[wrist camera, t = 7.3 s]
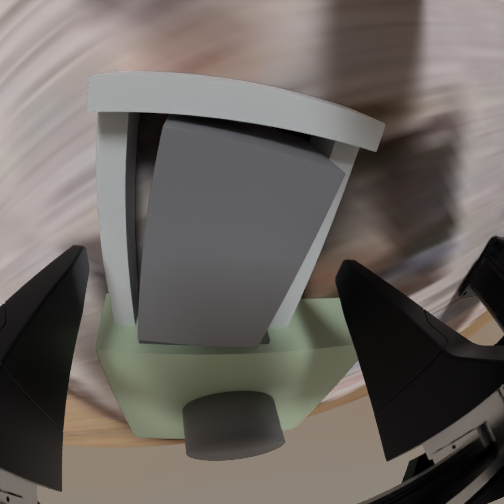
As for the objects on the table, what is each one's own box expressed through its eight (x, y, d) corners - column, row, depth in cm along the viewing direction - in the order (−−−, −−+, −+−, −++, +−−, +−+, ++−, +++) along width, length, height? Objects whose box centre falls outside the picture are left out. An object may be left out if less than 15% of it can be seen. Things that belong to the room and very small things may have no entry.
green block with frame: (422, 136, 11) (526, 205, 6) (284, 397, 25) (302, 456, 20) (98, 71, 7) (-17, 101, 2) (135, 401, 21) (137, 468, 16)
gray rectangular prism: (299, 135, 11) (345, 173, 8) (242, 284, 15) (256, 348, 12) (174, 104, 9) (162, 126, 6) (145, 272, 13) (137, 339, 10)
